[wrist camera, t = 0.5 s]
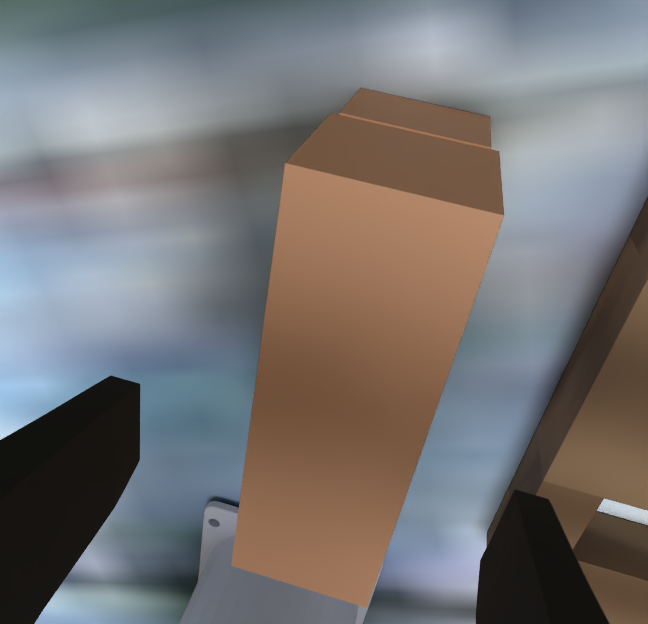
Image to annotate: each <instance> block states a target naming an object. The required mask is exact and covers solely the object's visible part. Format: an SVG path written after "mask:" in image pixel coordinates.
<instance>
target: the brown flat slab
mask: <svg viewBox="0 0 648 624" xmlns="http://www.w3.org/2000/svg"><path fill="white" fill-rule="evenodd" d="M514 489H515V490H519V491H522V492H526V493H529V494H533V495H536V496H540V497H543V498H547V499H549V501H550V502H551V504H552V506H553V508H554V510H555V512H556V515H557V517H558V519H559V521H560V523H561V526H562V528H563V530H564V532H565V534H566V536H567V539H568V541H569V543H570V545H571V547H572V549H573V552H574V554H575V556H576V558H577V560H578V562H579V564H580V566H581V568H582V570H583V572H584V574H585V576H586V578H587V581H588V583H589V585H590V587H591V589H592V591H593V592H594V594H595V596H596V598H597V600H598V602H599V604H600V606H601V608H602V610H603V612H604V614H605V616H606V617H607V619H608V621H609V623H610V624H648V526H645V525H642V524H638V523H635V522H631V521H628V520H624V519H621V518H617V517H614V516H610V515H607V514H603V513H600V512H596V510H597V509H598V507H599V505H600V504H601V502H602V501H603V499H604V498H605V499H609V500H612V501H616V502H620V503H623V504H627V505H630V506H634V507H637V508H641V509H645V510H648V198H647V200H646V202H645V204H644V206H643V208H642V211H641V213H640V215H639V217H638V219H637V221H636V223H635V225H634V227H633V229H632V231H631V233H630V236H629V238H628V240H627V242H626V244H625V246H624V248H623V250H622V252H621V254H620V256H619V259H618V261H617V263H616V265H615V267H614V269H613V271H612V273H611V275H610V277H609V279H608V282H607V284H606V286H605V288H604V290H603V292H602V294H601V296H600V298H599V300H598V302H597V304H596V307H595V309H594V311H593V313H592V315H591V317H590V319H589V321H588V323H587V325H586V327H585V330H584V332H583V334H582V336H581V338H580V340H579V342H578V344H577V346H576V348H575V350H574V352H573V355H572V357H571V359H570V361H569V363H568V365H567V367H566V369H565V371H564V373H563V375H562V378H561V380H560V382H559V384H558V386H557V388H556V390H555V392H554V394H553V396H552V398H551V401H550V403H549V405H548V407H547V409H546V411H545V413H544V415H543V417H542V419H541V421H540V423H539V426H538V428H537V430H536V432H535V434H534V436H533V438H532V440H531V442H530V444H529V446H528V449H527V451H526V453H525V455H524V457H523V459H522V461H521V463H520V465H519V467H518V469H517V471H516V474H515V476H514V478H513V480H512V482H511V484H510V486H509V488H508V490H507V492H506V494H505V497H504V499H503V501H502V503H501V505H500V507H499V509H498V511H497V513H496V515H495V517H494V520H493V522H492V524H491V526H490V528H489V530H488V532H487V546H488V544H489V542H490V540H491V537H492V535H493V533H494V531H495V529H496V527H497V525H498V523H499V521H500V519H501V517H502V514H503V512H504V510H505V508H506V506H507V504H508V502H509V500H510V498H511V496H512V494H513V492H514Z"/></svg>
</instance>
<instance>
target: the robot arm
mask: <svg viewBox="0 0 648 624" xmlns="http://www.w3.org/2000/svg"><path fill="white" fill-rule="evenodd" d="M139 460H140V384H139V383H135V382H131V381H128V380H124V379H121V378H117V377H114V376H109V377H108V378H106V379H104V380H102V381H101V382H99V383H97V384H95V385H94V386H92V387H90V388H89V389H87V390H85V391H84V392H82V393H80V394H79V395H77V396H75V397H74V398H72V399H70V400H69V401H67V402H65V403H64V404H62V405H60V406H59V407H57V408H55V409H54V410H52V411H50V412H48V413H47V414H45V415H43V416H42V417H40V418H38V419H36V420H35V421H33V422H31V423H29V424H28V425H26V426H24V427H22V428H21V429H19V430H17V431H16V432H14V433H12V434H10V435H9V436H7V437H5V438H3V439H1V440H0V624H34V623H35V622H36V620H37V619H38V617H39V615H40V614H41V612H42V611H43V609H44V608H45V606H46V605H47V603H48V602H49V601H50V599H51V598H52V596H53V595H54V593H55V592H56V591H57V589H58V588H59V586H60V585H61V584H62V582H63V581H64V579H65V578H66V576H67V575H68V574H69V572H70V571H71V569H72V568H73V566H74V565H75V564H76V562H77V561H78V559H79V558H80V556H81V555H82V554H83V552H84V551H85V549H86V548H87V546H88V545H89V544H90V542H91V541H92V539H93V538H94V536H95V535H96V534H97V532H98V531H99V529H100V528H101V526H102V525H103V523H104V522H105V521H106V519H107V518H108V516H109V515H110V513H111V512H112V510H113V509H114V507H115V506H116V504H117V502H118V500H119V498H120V497H121V495H122V493H123V491H124V489H125V487H126V486H127V484H128V482H129V480H130V478H131V476H132V474H133V472H134V470H135V468H136V466H137V464H138V462H139ZM238 510H239V508H238V507H235V506H232V505H228V504H225V503H222V502H218V501H212V502H209V503H208V504H207V506H206V508H205V511H204V520H203V531H202V543H201V554H200V565H199V576H198V583H197V585H196V587H195V590H194V592H193V594H192V596H191V599H190V601H189V603H188V605H187V608H186V610H185V612H184V614H183V616H182V619H181V621H180V623H179V624H363V621H364V618H365V615H366V613H367V610H368V607H369V604H370V601H371V598H372V596H373V593H374V590H375V587H376V584H377V581H378V579H379V576H380V573H381V570H382V567H383V563H384V560H383V563H382V566H381V568H380V571H379V574H378V577H377V580H376V583H375V586H374V588H373V591H372V594H371V597H370V600H369V603H368V606H367V608H366V607H362V606H359V605H356V604H353V603H349V602H346V601H343V600H340V599H337V598H333V597H330V596H327V595H324V594H320V593H317V592H314V591H311V590H308V589H304V588H301V587H298V586H295V585H291V584H288V583H285V582H282V581H278V580H275V579H272V578H269V577H266V576H262V575H259V574H256V573H253V572H249V571H246V570H243V569H240V568H237V567H233V566H231V562H232V554H233V547H234V540H235V532H236V525H237V517H238ZM476 624H610V623H609V621H608V619H607V617H606V616H605V614H604V612H603V610H602V608H601V606H600V604H599V602H598V600H597V598H596V596H595V594H594V592H593V591H592V589H591V587H590V585H589V583H588V581H587V578H586V576H585V574H584V572H583V570H582V568H581V566H580V564H579V562H578V560H577V558H576V556H575V554H574V552H573V549H572V547H571V545H570V543H569V541H568V539H567V536H566V534H565V532H564V530H563V528H562V526H561V523H560V521H559V519H558V517H557V515H556V512H555V510H554V508H553V506H552V504H551V502H550V501H549V499H547V498H543V497H540V496H536V495H533V494H529V493H526V492H522V491H519V490H515V489H514V492H513V494H512V496H511V498H510V500H509V502H508V504H507V506H506V508H505V510H504V512H503V514H502V517H501V519H500V521H499V523H498V525H497V527H496V529H495V531H494V533H493V535H492V537H491V540H490V542H489V544H488V546H487V548H486V550H485V552H484V554H483V556H482V558H481V560H480V571H479V582H478V594H477V608H476Z"/></svg>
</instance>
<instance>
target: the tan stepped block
mask: <svg viewBox="0 0 648 624" xmlns="http://www.w3.org/2000/svg"><path fill="white" fill-rule="evenodd" d="M503 217H504V208H503V195H502V182H501V169H500V156H499V151H495V150H491V129H490V117H488V116H484V115H479V114H475V113H470V112H466V111H462V110H457V109H453V108H448V107H444V106H439V105H435V104H430V103H426V102H421V101H417V100H412V99H408V98H403V97H399V96H395V95H390V94H386V93H381V92H377V91H372V90H368V89H363V88H361V89H360V90H359V91H358V92H357V93H356V94H355V95H354V97H353V98H352V99H351V100H350V101H349V102H348V104H347V105H346V106H345V107H344V108H343V109H342V111H341V112H340V113H339V115H338V114H334V113H331V114H330V115H329V116H328V117H327V118H326V119H325V120H324V121H323V122H322V123H321V124H320V126H319V127H318V128H317V129H316V130H315V131H314V132H313V133H312V134H311V135H310V137H309V138H308V139H307V140H306V141H305V142H304V143H303V144H302V145H301V146H300V147H299V149H298V150H297V151H296V152H295V153H294V154H293V155H292V156H291V157H290V158H289V160H288V161H287V162H286V163H285V168H284V176H283V183H282V191H281V198H280V205H279V213H278V220H277V228H276V235H275V243H274V250H273V257H272V265H271V272H270V280H269V287H268V295H267V302H266V309H265V317H264V324H263V332H262V339H261V347H260V354H259V361H258V369H257V376H256V384H255V391H254V399H253V406H252V413H251V421H250V428H249V436H248V443H247V450H246V458H245V465H244V473H243V480H242V488H241V495H240V502H239V510H238V517H237V525H236V532H235V540H234V547H233V554H232V562H231V566H233V567H237V568H240V569H243V570H246V571H249V572H253V573H256V574H259V575H262V576H266V577H269V578H272V579H275V580H278V581H282V582H285V583H288V584H291V585H295V586H298V587H301V588H304V589H308V590H311V591H314V592H317V593H320V594H324V595H327V596H330V597H333V598H337V599H340V600H343V601H346V602H349V603H353V604H356V605H359V606H362V607H366V608H367V606H368V603H369V600H370V597H371V594H372V591H373V588H374V586H375V583H376V580H377V577H378V574H379V571H380V568H381V566H382V563H383V560H384V557H385V554H386V551H387V548H388V546H389V543H390V540H391V537H392V534H393V531H394V528H395V526H396V523H397V520H398V517H399V514H400V511H401V509H402V506H403V503H404V500H405V497H406V494H407V491H408V489H409V486H410V483H411V480H412V477H413V474H414V471H415V469H416V466H417V463H418V460H419V457H420V454H421V451H422V449H423V446H424V443H425V440H426V437H427V434H428V431H429V429H430V426H431V423H432V420H433V417H434V414H435V411H436V409H437V406H438V403H439V400H440V397H441V394H442V391H443V389H444V386H445V383H446V380H447V377H448V374H449V371H450V369H451V366H452V363H453V360H454V357H455V354H456V351H457V349H458V346H459V343H460V340H461V337H462V334H463V331H464V329H465V326H466V323H467V320H468V317H469V314H470V311H471V309H472V306H473V303H474V300H475V297H476V294H477V292H478V289H479V286H480V283H481V280H482V277H483V274H484V272H485V269H486V266H487V263H488V260H489V257H490V254H491V252H492V249H493V246H494V243H495V240H496V237H497V234H498V232H499V229H500V226H501V223H502V220H503Z"/></svg>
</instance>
